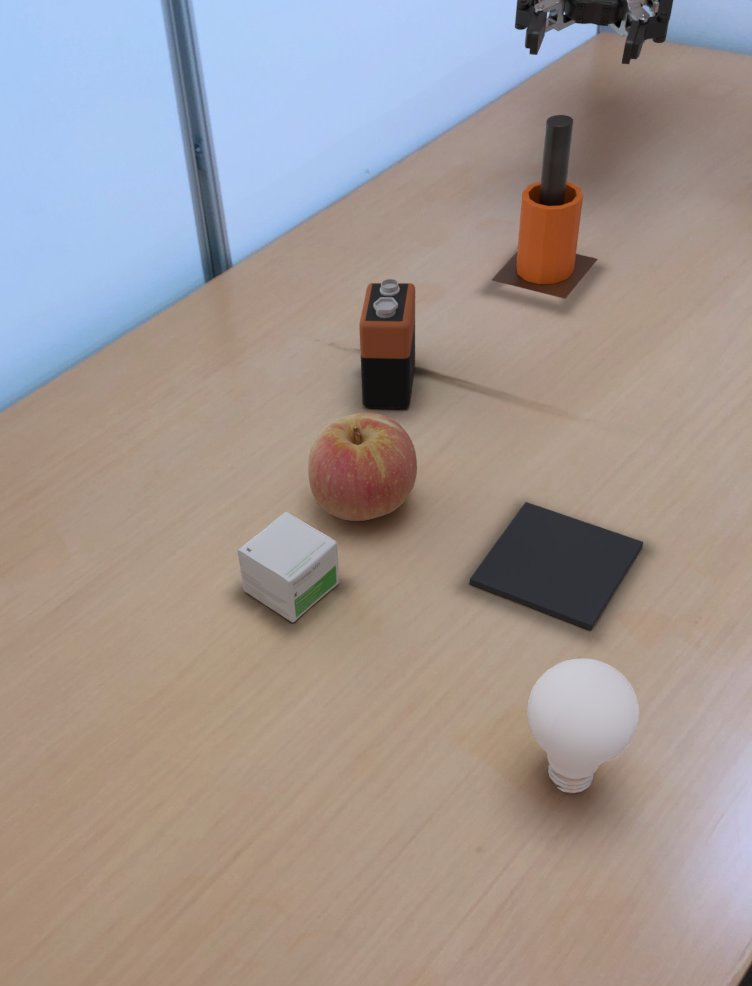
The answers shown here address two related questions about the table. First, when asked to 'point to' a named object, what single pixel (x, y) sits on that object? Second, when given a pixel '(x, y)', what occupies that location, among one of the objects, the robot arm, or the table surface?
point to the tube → (548, 236)
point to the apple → (362, 466)
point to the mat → (557, 565)
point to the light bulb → (581, 719)
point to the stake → (552, 195)
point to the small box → (289, 566)
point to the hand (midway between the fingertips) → (580, 50)
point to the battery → (387, 344)
